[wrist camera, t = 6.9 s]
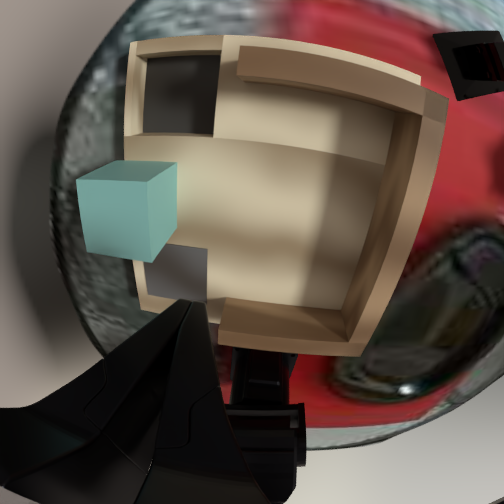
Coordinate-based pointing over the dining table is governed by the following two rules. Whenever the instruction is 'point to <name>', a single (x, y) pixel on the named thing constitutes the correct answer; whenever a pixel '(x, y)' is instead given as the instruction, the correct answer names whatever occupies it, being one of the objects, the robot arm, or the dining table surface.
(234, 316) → the cubby
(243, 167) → the board
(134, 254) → the block
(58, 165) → the dining table surface
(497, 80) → the black box
